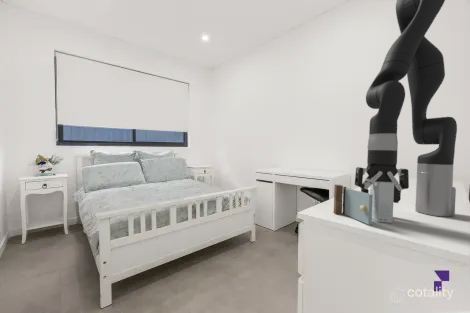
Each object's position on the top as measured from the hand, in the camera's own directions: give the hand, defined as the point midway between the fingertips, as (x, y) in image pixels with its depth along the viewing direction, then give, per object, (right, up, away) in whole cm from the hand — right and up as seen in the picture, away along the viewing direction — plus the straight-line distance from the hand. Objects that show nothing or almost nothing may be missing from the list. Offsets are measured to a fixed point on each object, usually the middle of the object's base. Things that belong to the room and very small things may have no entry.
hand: (380, 201), depth 66 cm
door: (-8, -5, -1) cm, 10 cm away
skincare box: (0, -6, 0) cm, 6 cm away
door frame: (-3, -5, +5) cm, 8 cm away
